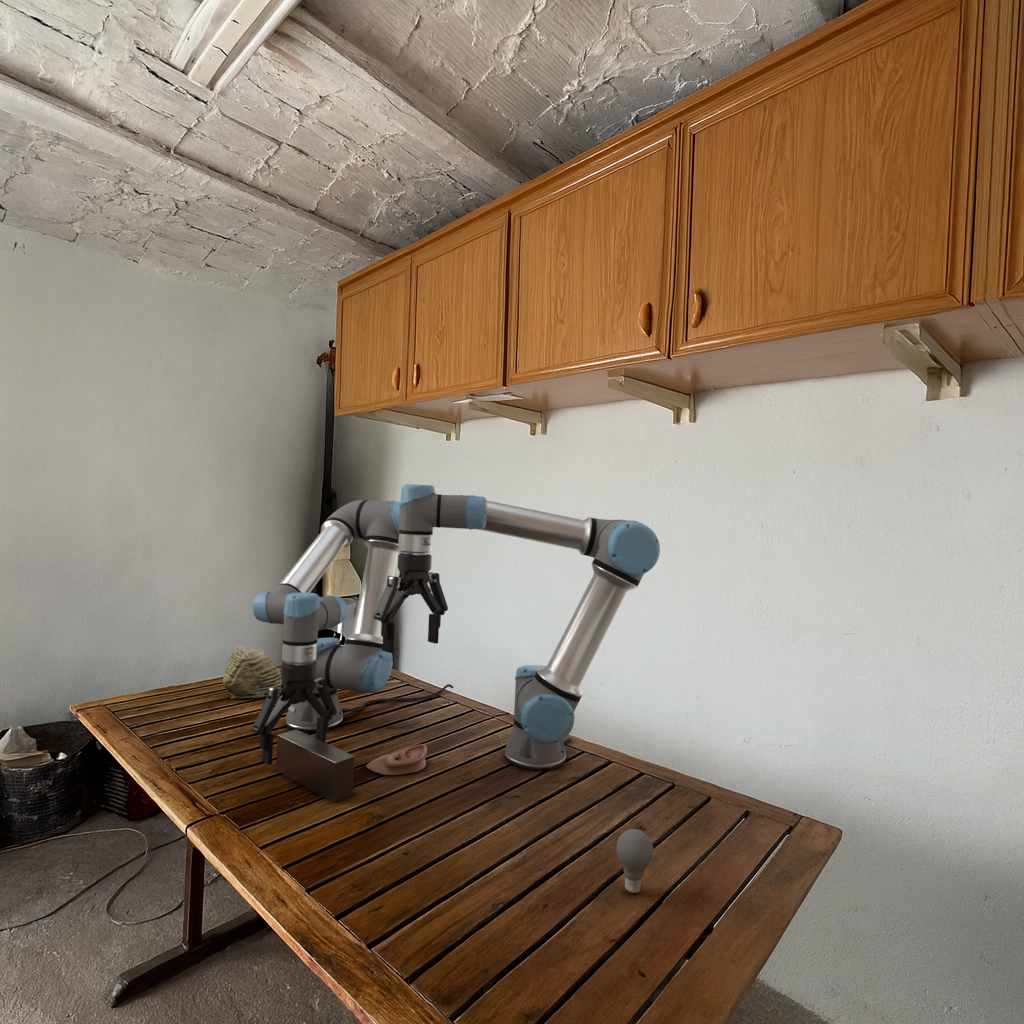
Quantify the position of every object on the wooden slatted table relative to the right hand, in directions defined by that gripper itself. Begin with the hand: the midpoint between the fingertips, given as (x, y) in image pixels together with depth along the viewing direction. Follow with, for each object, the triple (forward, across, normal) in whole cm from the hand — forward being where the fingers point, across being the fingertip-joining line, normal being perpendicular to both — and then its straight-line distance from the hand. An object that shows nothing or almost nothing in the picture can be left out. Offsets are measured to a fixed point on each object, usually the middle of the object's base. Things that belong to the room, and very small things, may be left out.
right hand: (411, 647), depth 143 cm
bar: (+30, -15, +14) cm, 36 cm away
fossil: (+30, +7, +78) cm, 84 cm away
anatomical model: (+30, +4, +7) cm, 31 cm away
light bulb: (+30, -2, -58) cm, 66 cm away
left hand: (+26, -15, +21) cm, 37 cm away
